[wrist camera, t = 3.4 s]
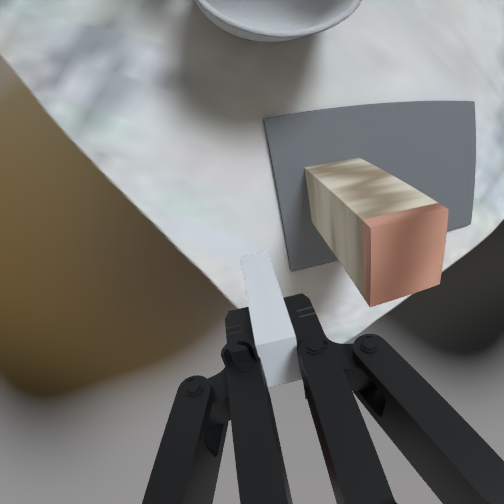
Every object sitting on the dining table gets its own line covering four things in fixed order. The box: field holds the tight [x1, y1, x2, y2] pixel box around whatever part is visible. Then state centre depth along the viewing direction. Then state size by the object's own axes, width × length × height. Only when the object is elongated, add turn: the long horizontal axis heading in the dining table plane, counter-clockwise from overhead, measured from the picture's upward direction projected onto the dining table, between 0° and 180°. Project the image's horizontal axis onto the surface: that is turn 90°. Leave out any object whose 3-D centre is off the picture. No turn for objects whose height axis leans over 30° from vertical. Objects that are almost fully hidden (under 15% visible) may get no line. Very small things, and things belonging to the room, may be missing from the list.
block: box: [305, 158, 449, 307], centre depth 21 cm, size 5×5×12 cm
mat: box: [264, 101, 476, 272], centre depth 26 cm, size 22×14×1 cm, turn 101°
